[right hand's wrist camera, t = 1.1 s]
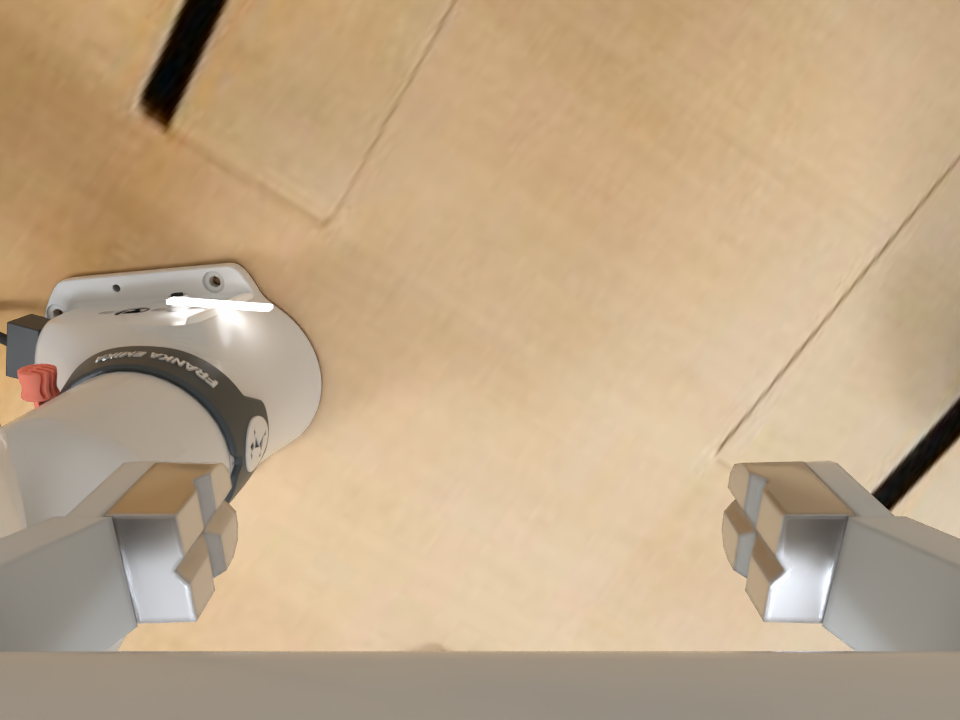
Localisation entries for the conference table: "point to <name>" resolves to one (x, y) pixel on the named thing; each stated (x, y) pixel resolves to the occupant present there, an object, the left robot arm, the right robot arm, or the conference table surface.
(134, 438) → the right robot arm
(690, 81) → the conference table surface
